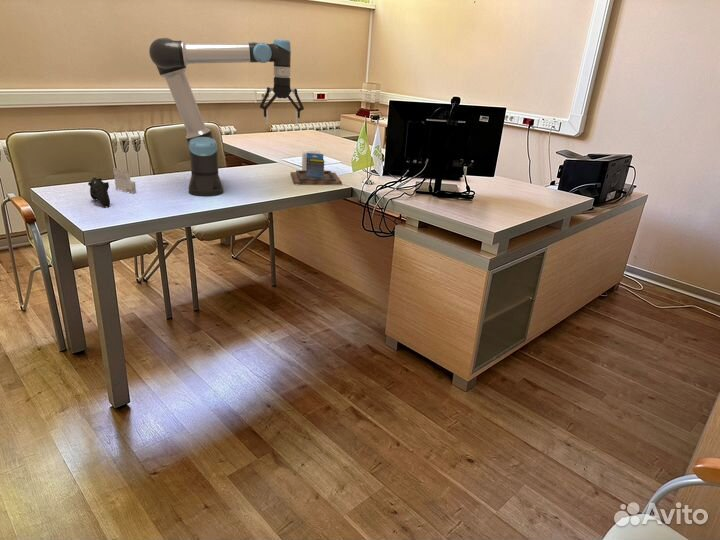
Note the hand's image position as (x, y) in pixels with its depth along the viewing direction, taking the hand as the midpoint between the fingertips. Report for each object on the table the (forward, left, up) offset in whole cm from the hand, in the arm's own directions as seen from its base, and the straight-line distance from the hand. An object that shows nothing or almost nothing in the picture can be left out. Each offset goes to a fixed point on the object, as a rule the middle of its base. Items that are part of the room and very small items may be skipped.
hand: (281, 124), depth 239 cm
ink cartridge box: (-69, -14, -29) cm, 76 cm away
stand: (+18, +10, -29) cm, 35 cm away
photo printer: (+18, +28, -29) cm, 44 cm away
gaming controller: (-75, -33, -29) cm, 87 cm away
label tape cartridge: (+18, +10, -27) cm, 34 cm away
